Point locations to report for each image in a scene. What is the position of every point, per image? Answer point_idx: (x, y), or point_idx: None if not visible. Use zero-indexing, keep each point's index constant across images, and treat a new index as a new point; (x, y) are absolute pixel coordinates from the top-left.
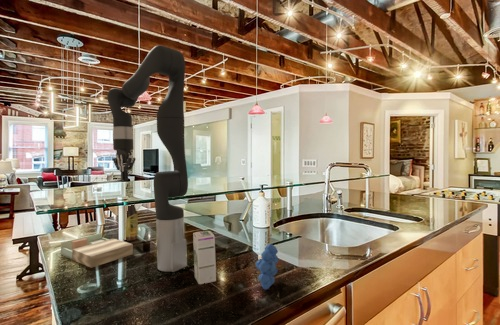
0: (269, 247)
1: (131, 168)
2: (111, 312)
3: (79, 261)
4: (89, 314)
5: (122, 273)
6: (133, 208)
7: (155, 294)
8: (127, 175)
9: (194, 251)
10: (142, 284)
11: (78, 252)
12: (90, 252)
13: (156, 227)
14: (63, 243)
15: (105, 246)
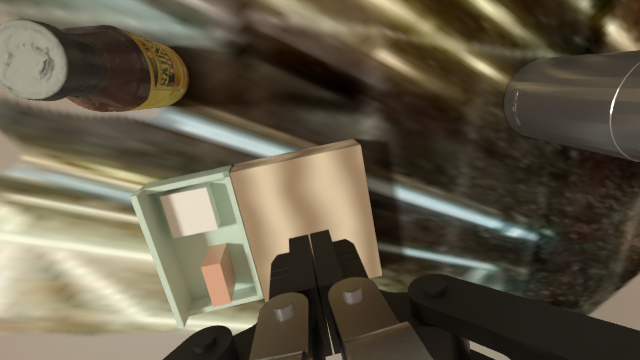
0: None
1: (466, 284)
2: (610, 274)
3: None
4: (585, 301)
5: (472, 211)
6: (118, 56)
7: (625, 196)
8: (362, 266)
9: None
10: (565, 198)
11: None
12: None
13: (631, 159)
14: (183, 318)
15: (315, 221)
